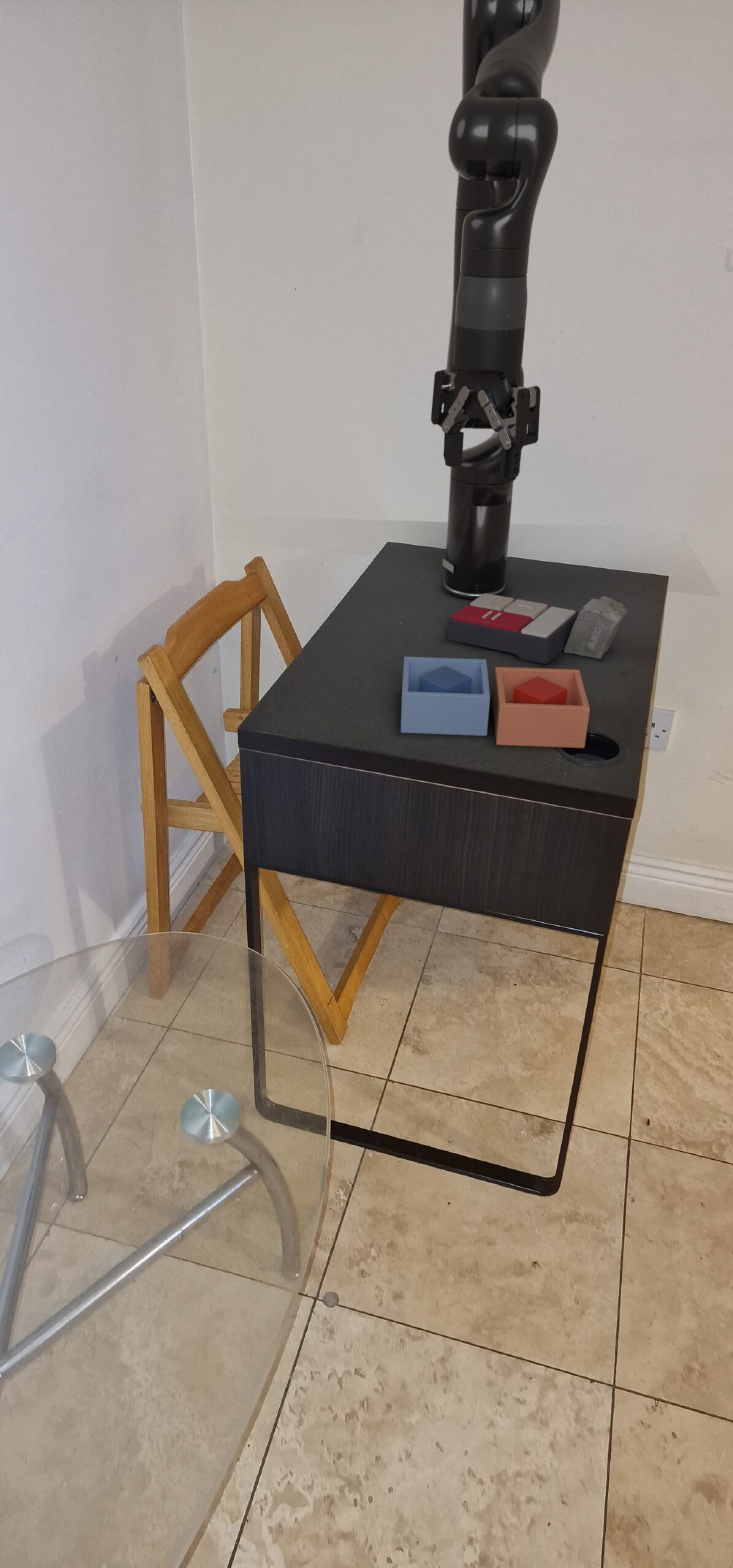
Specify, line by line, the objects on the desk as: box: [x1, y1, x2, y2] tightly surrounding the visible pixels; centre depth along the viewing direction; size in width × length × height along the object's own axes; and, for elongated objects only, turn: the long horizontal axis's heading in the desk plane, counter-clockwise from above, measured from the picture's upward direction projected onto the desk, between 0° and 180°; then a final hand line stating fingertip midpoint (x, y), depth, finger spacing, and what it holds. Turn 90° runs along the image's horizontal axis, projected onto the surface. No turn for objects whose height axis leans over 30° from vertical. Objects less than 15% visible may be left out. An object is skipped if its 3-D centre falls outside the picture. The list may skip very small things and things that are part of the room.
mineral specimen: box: [563, 596, 628, 660], centre depth 136 cm, size 7×9×8 cm
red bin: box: [491, 666, 591, 749], centre depth 119 cm, size 10×10×5 cm
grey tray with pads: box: [447, 593, 579, 665], centre depth 141 cm, size 11×4×15 cm
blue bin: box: [400, 656, 491, 737], centre depth 121 cm, size 10×10×5 cm
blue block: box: [419, 666, 472, 694], centre depth 121 cm, size 4×4×4 cm
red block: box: [513, 677, 568, 705], centre depth 119 cm, size 4×4×4 cm
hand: (479, 473), depth 118 cm, fingers open, 8 cm apart
